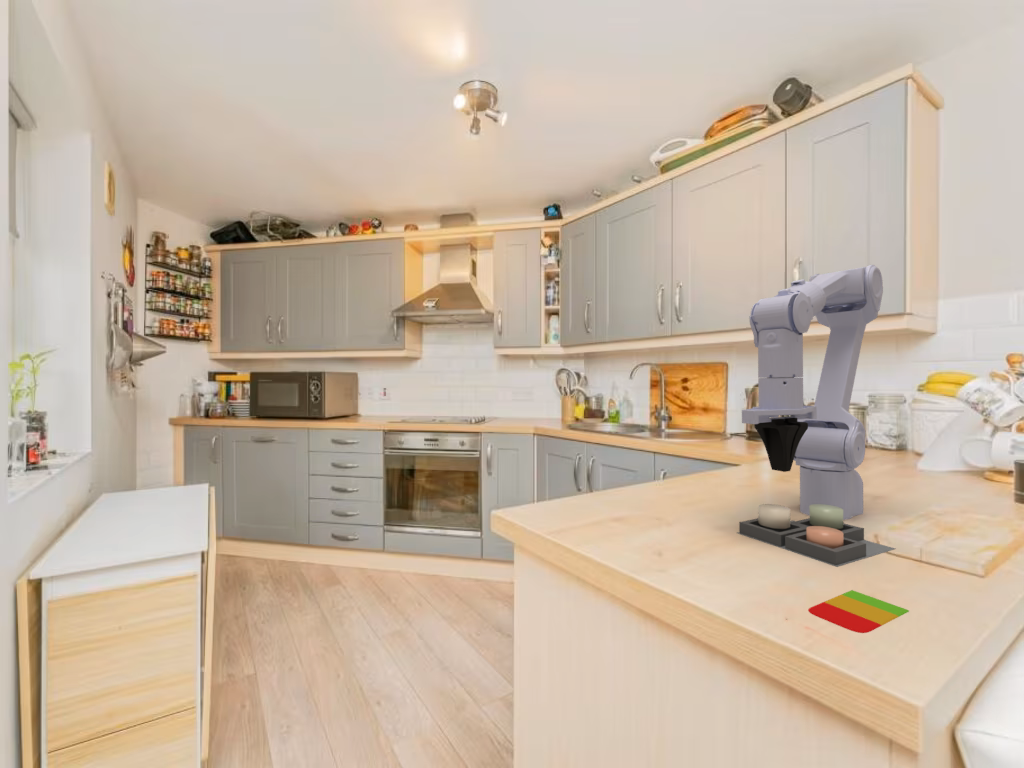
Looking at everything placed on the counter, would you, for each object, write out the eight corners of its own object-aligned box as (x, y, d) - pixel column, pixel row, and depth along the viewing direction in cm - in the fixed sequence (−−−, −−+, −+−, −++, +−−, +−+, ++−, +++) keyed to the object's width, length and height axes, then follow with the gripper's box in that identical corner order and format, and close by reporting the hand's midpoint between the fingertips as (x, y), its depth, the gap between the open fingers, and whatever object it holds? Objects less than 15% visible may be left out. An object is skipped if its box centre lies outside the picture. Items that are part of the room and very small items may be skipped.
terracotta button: (818, 541, 63) (818, 524, 63) (850, 551, 60) (850, 532, 60) (799, 546, 62) (799, 528, 62) (831, 557, 58) (831, 537, 58)
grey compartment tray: (792, 527, 74) (792, 510, 74) (895, 557, 62) (895, 536, 62) (736, 540, 69) (736, 521, 69) (837, 576, 56) (837, 553, 56)
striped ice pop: (799, 628, 46) (800, 608, 46) (877, 593, 53) (877, 576, 53) (863, 657, 41) (864, 636, 41) (939, 615, 48) (939, 597, 48)
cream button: (770, 518, 70) (770, 502, 70) (796, 526, 66) (796, 509, 66) (752, 522, 68) (752, 506, 68) (778, 530, 64) (778, 513, 64)
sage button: (820, 519, 69) (820, 502, 69) (849, 526, 66) (849, 509, 66) (803, 522, 68) (803, 506, 68) (832, 530, 64) (832, 513, 64)
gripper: (784, 377, 75) (785, 461, 76) (723, 378, 69) (723, 470, 69) (831, 377, 69) (831, 468, 69) (768, 378, 63) (768, 479, 63)
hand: (780, 470), depth 69 cm, fingers closed
